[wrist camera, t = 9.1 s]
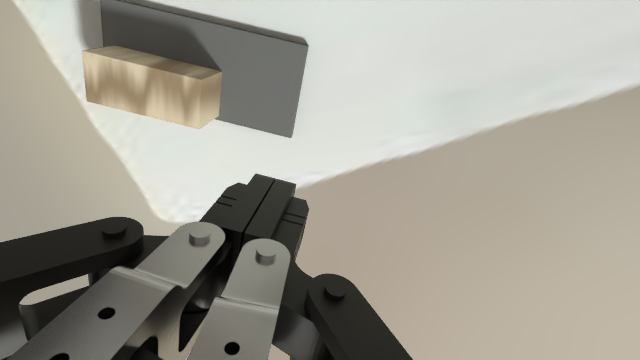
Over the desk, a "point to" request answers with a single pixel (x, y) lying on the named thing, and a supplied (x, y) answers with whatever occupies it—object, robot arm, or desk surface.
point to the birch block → (152, 85)
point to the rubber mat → (219, 61)
